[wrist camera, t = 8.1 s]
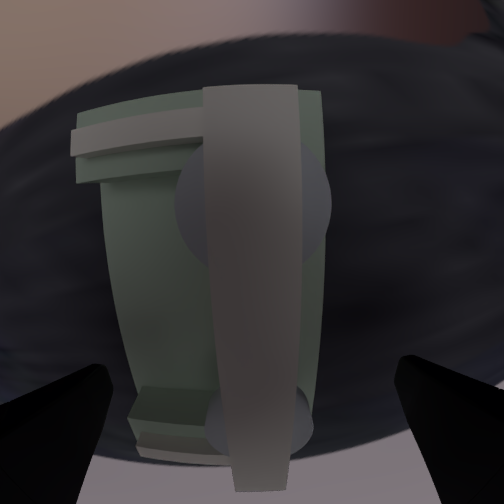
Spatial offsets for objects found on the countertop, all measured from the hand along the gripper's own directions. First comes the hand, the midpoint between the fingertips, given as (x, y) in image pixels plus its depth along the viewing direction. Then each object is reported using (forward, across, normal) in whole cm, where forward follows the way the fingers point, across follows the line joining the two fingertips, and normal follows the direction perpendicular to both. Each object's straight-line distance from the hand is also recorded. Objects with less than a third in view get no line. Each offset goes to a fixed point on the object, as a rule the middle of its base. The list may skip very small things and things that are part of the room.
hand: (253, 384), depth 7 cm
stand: (+8, +2, 0) cm, 8 cm away
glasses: (+4, +2, 0) cm, 4 cm away
